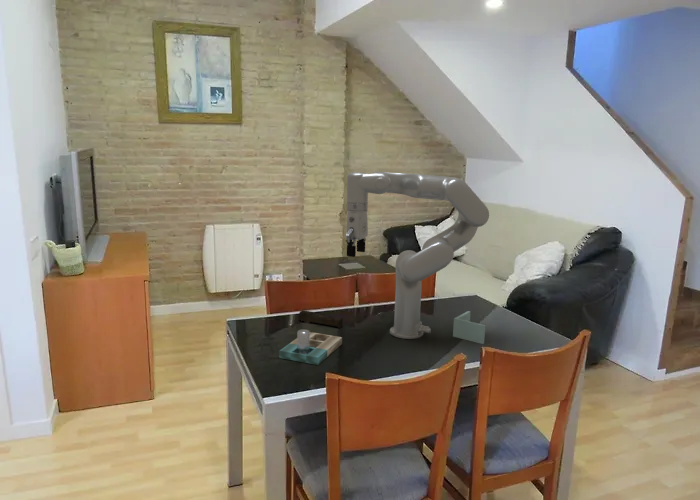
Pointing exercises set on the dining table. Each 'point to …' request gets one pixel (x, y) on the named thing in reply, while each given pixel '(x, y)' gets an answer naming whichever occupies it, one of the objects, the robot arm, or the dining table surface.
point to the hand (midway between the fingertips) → (356, 254)
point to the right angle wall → (468, 329)
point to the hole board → (312, 349)
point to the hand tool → (320, 319)
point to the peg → (303, 341)
